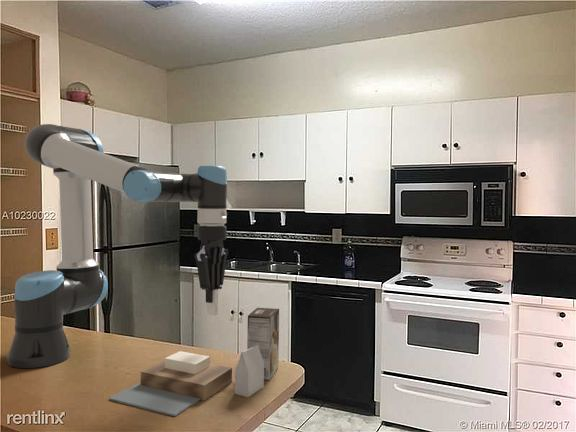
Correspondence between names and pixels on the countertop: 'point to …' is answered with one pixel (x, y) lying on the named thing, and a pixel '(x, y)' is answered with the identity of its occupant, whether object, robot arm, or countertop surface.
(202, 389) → the brown flat block
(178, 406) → the mat
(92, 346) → the countertop surface
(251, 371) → the tea bag
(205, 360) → the tile
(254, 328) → the coffee box
